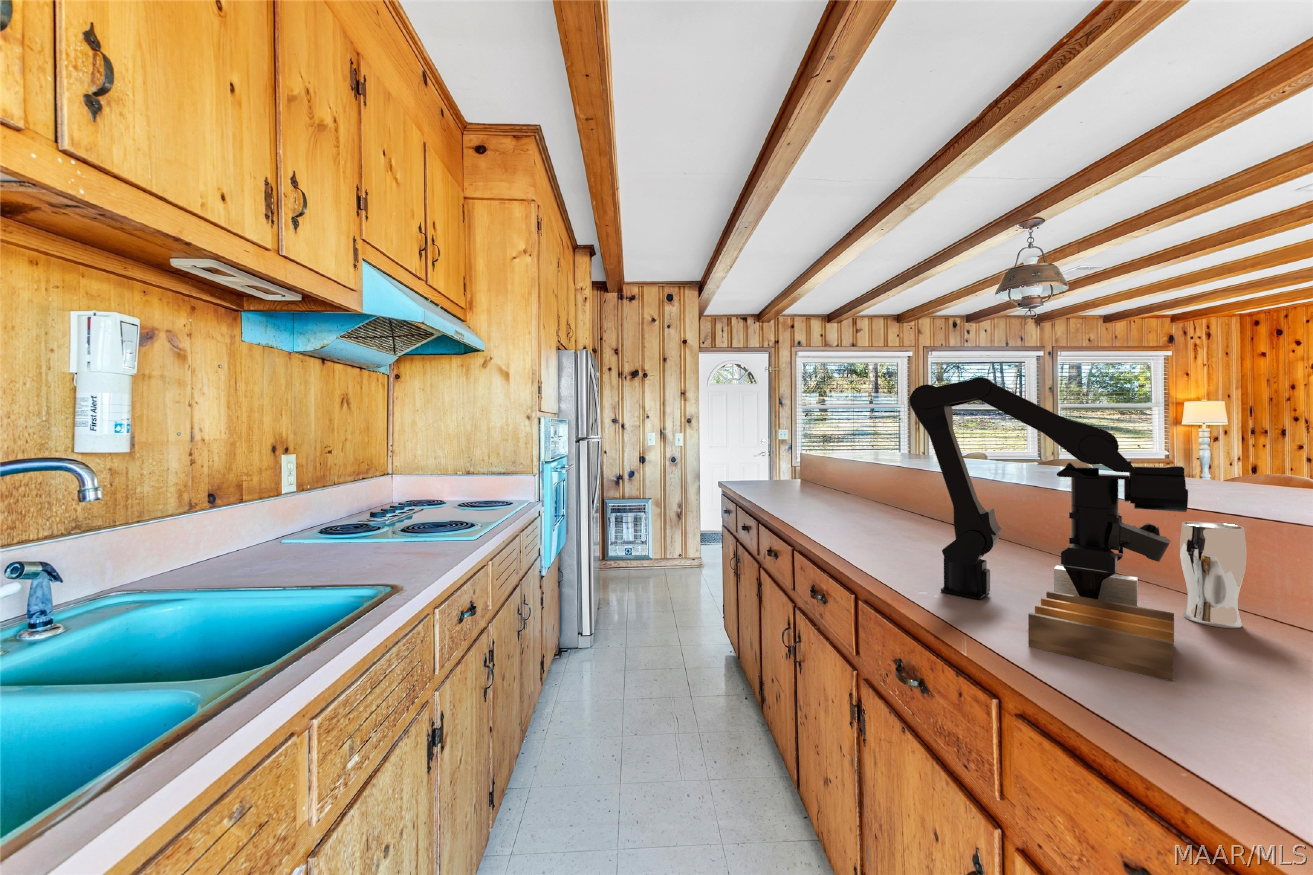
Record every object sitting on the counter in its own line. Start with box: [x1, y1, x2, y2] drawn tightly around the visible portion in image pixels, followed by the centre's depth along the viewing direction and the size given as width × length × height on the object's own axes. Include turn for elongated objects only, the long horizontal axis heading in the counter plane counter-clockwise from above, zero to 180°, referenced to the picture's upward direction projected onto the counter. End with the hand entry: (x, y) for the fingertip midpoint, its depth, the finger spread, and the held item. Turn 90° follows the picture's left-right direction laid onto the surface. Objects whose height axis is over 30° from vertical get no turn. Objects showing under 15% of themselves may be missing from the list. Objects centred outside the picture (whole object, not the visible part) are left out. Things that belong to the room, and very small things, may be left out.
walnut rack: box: [1027, 590, 1175, 682], centre depth 70 cm, size 14×14×4 cm
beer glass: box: [1179, 520, 1248, 629], centre depth 78 cm, size 7×7×15 cm
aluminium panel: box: [1053, 565, 1139, 607], centre depth 81 cm, size 10×2×7 cm, turn 44°
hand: (1094, 602), depth 81 cm, fingers open, 9 cm apart
